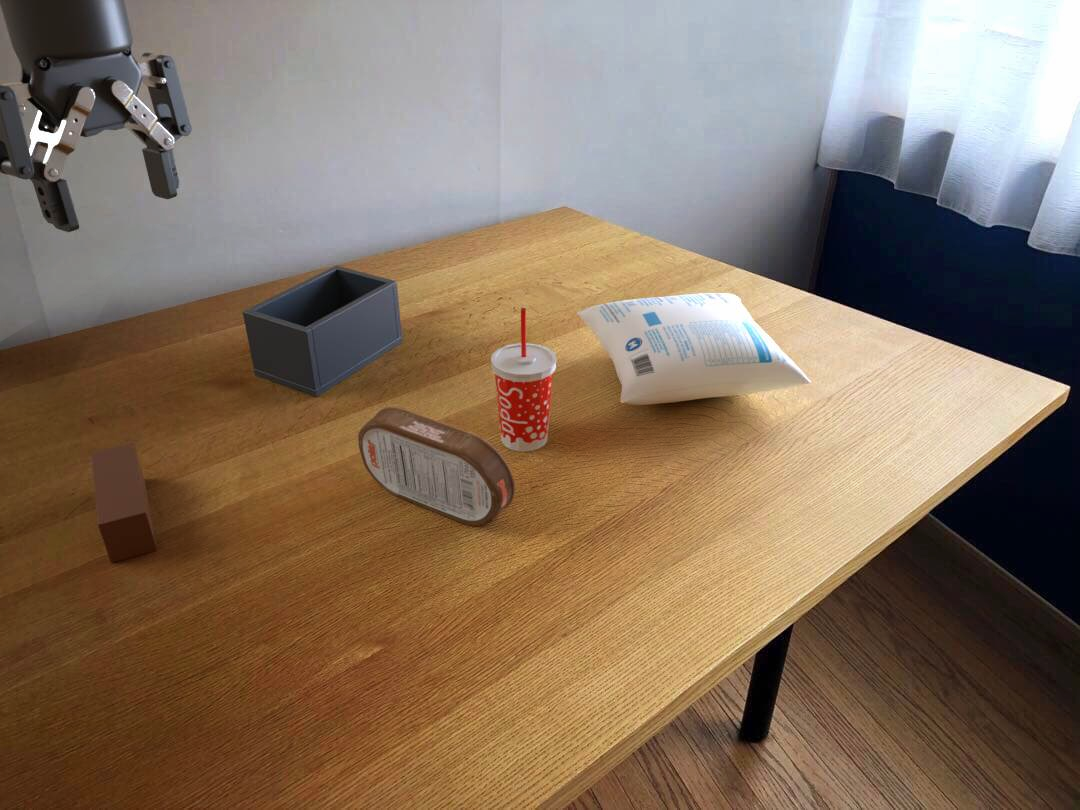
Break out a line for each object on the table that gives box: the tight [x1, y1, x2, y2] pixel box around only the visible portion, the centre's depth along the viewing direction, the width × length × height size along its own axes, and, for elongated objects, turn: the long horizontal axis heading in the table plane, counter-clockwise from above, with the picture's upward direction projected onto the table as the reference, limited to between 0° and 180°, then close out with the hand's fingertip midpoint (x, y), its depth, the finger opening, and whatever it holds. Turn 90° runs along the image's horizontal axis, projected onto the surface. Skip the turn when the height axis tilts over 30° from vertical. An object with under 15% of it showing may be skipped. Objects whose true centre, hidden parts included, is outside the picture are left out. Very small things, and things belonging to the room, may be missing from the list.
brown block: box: [90, 442, 158, 564], centre depth 73 cm, size 11×4×4 cm, turn 27°
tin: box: [357, 406, 516, 527], centre depth 73 cm, size 15×3×8 cm, turn 59°
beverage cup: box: [490, 307, 557, 452], centre depth 81 cm, size 6×6×14 cm
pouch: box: [576, 292, 812, 406], centre depth 93 cm, size 8×19×20 cm
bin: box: [242, 265, 403, 398], centre depth 96 cm, size 15×9×8 cm, turn 149°
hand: (118, 212), depth 65 cm, fingers open, 8 cm apart
